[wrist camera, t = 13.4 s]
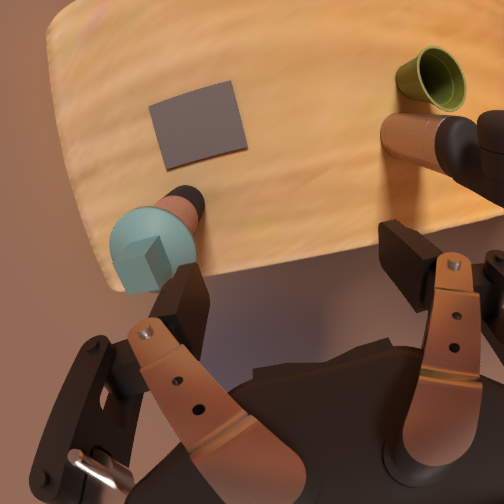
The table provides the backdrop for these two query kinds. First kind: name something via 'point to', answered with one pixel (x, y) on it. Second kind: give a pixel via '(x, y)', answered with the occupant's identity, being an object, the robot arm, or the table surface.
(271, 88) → the table surface
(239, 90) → the table surface
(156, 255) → the lid
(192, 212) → the travel mug
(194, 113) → the mat
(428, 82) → the plant pot
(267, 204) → the table surface
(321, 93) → the table surface
